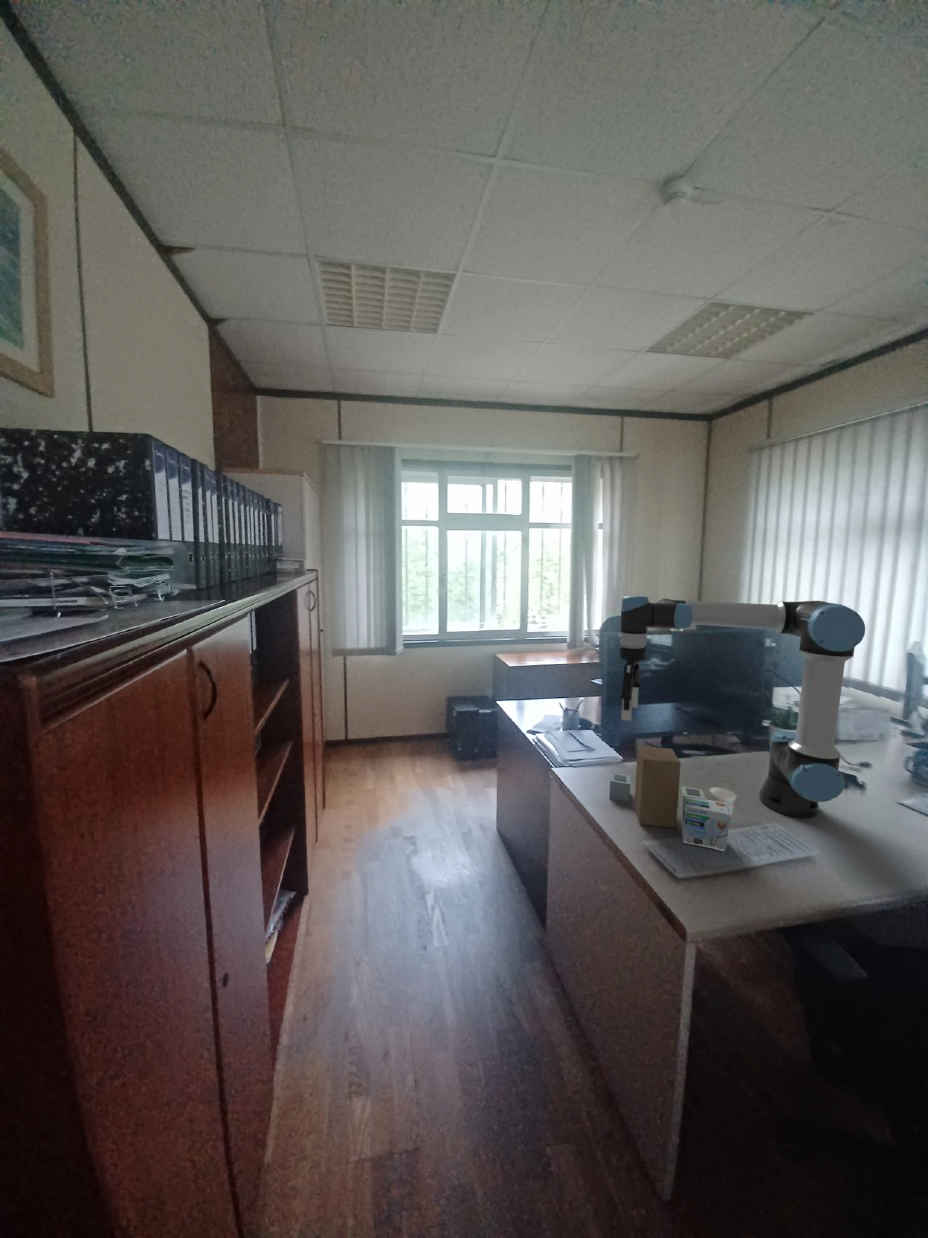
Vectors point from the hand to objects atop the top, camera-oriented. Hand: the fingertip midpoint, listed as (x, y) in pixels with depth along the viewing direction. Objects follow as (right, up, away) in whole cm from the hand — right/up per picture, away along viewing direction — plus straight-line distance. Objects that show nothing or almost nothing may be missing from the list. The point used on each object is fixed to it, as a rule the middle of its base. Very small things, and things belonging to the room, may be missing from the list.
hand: (629, 713), depth 143 cm
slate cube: (-1, -28, +6) cm, 29 cm away
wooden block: (+5, -30, -6) cm, 31 cm away
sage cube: (+18, -29, -3) cm, 35 cm away
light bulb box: (+14, -32, -18) cm, 39 cm away
